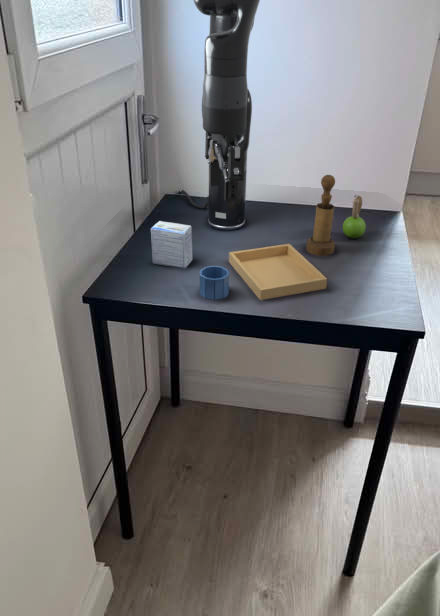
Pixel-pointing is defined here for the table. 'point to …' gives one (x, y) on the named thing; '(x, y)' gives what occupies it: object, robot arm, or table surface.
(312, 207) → the table surface
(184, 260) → the medicine box
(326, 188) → the mortar and pestle
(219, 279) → the cup
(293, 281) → the tray
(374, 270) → the table surface
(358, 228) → the green ball with peg
